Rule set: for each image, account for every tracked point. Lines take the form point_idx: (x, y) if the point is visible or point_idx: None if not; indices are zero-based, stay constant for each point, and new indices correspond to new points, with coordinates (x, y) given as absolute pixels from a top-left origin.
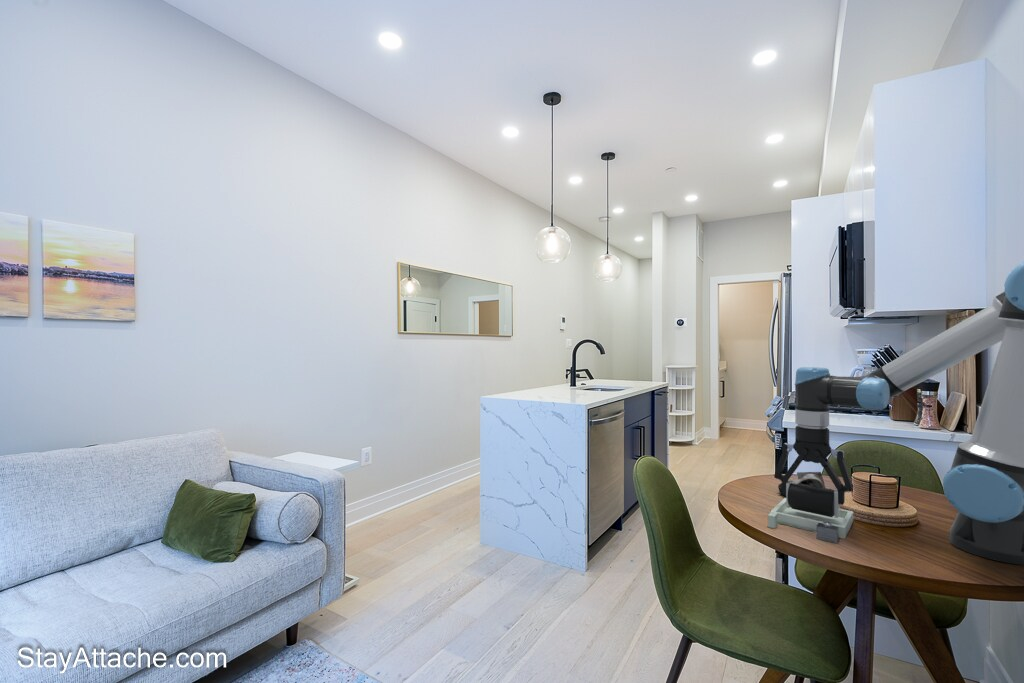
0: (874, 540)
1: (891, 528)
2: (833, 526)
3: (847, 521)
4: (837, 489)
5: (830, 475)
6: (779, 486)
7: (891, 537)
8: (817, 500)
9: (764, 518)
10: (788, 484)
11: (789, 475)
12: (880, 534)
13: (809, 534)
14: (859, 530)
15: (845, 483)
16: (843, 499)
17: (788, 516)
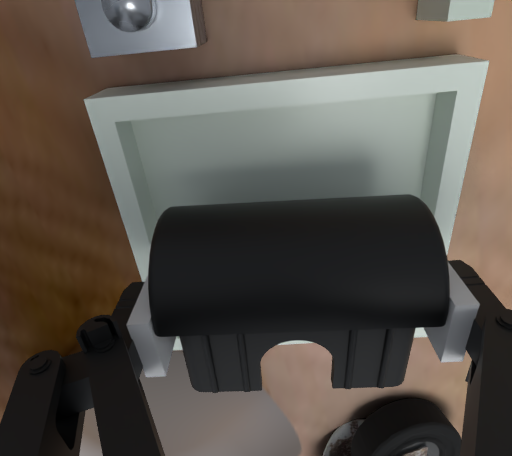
0: (31, 172)
1: (69, 335)
2: (110, 36)
3: (123, 216)
4: (122, 343)
5: (137, 446)
6: (457, 442)
7: (20, 253)
8: (240, 223)
9: (490, 85)
10: (458, 300)
11: (492, 366)
12: (56, 256)
13: (244, 6)
14: (120, 246)
15: (43, 398)
16: (117, 306)
17: (376, 69)
